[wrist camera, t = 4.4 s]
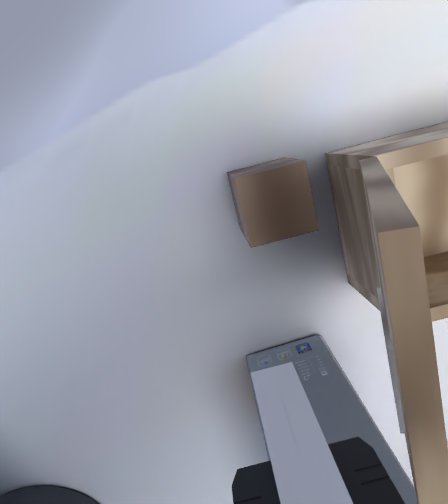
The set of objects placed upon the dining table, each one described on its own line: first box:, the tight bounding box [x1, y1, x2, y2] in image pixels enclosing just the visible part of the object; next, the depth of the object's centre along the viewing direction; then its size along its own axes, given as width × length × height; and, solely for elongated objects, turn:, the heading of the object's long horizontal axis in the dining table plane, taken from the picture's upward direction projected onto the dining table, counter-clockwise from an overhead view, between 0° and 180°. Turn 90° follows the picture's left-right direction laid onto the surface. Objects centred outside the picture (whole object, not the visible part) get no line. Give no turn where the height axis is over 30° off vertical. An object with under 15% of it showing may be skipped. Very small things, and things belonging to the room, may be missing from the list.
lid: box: [359, 157, 448, 504], centre depth 19 cm, size 16×12×1 cm
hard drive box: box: [247, 335, 417, 504], centre depth 31 cm, size 16×8×20 cm, turn 16°
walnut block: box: [227, 158, 319, 248], centre depth 32 cm, size 5×5×7 cm
